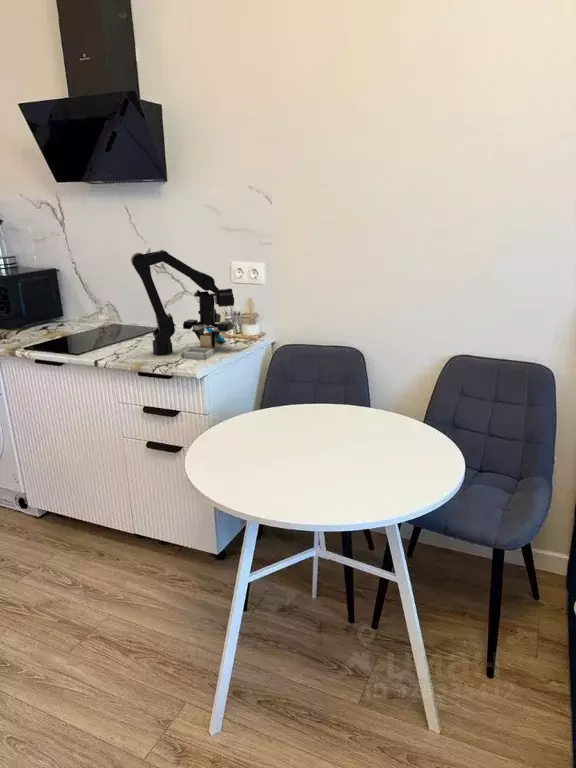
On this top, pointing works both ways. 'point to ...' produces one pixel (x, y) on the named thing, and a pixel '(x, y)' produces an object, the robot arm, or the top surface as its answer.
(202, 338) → the cardboard box
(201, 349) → the gray plate
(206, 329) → the gear
